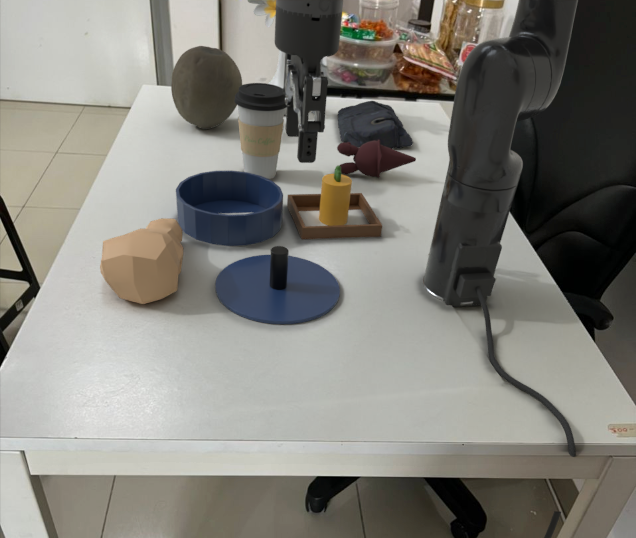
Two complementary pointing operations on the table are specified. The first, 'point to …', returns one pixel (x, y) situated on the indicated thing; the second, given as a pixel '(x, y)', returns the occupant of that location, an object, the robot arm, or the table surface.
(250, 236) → the pot
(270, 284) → the lid
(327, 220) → the pineapple
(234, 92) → the cantaloupe
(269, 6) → the flower vase
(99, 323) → the table surface
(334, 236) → the tray
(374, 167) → the icecream
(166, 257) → the squash
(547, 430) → the table surface
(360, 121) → the dark slate chunk
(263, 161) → the coffee cup
